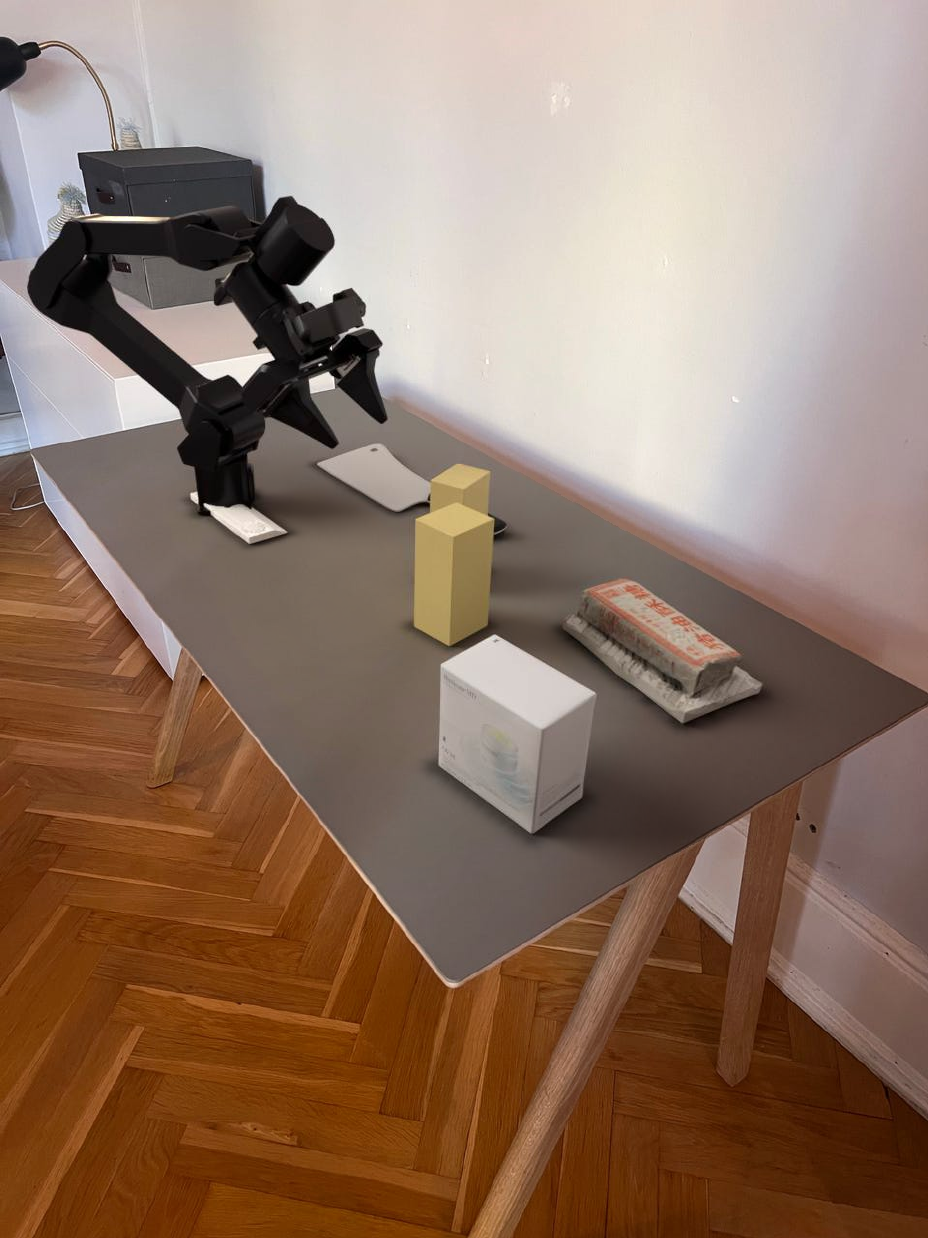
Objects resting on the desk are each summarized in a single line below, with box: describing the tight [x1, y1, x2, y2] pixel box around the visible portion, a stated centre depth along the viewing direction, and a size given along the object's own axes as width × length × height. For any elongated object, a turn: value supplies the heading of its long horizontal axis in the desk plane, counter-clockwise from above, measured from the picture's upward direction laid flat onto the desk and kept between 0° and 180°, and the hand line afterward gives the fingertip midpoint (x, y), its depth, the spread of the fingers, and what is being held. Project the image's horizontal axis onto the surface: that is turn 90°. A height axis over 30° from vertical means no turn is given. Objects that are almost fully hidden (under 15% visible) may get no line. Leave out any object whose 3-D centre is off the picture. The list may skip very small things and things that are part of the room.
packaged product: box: [562, 578, 764, 725], centre depth 87 cm, size 18×5×10 cm
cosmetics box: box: [438, 634, 598, 834], centre depth 70 cm, size 10×6×10 cm, turn 45°
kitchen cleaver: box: [317, 443, 508, 539], centre depth 118 cm, size 31×2×10 cm
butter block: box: [413, 502, 494, 647], centre depth 89 cm, size 5×6×12 cm
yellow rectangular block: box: [429, 463, 491, 516], centre depth 98 cm, size 4×6×12 cm
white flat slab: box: [190, 491, 288, 545], centre depth 111 cm, size 5×15×1 cm, turn 40°
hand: (361, 433), depth 99 cm, fingers open, 9 cm apart
